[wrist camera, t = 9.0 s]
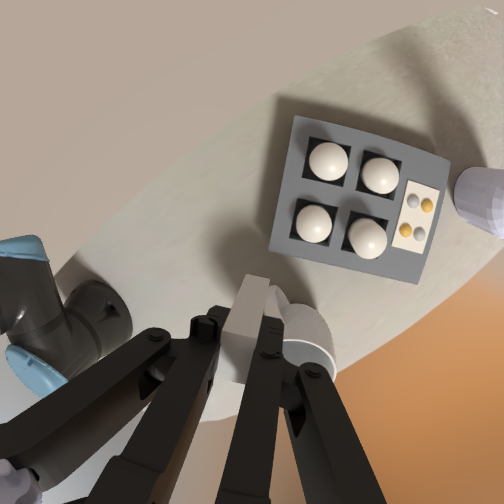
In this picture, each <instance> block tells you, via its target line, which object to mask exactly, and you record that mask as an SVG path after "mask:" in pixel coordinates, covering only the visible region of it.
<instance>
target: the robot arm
mask: <svg viewBox="0 0 504 504" xmlns="http://www.w3.org/2000/svg"><path fill="white" fill-rule="evenodd" d="M49 262H50V261H49V259H48V258H47V256H46V253H45V250H44V247H43V243H42V241H41V239H40V238H39V237H37V236H35V235H26V236H20V237H15V238H10V239H6V240H2V241H0V335H2V334H4V333H5V332H6V334H7V336H8V338H9V340H10V343H11V344H10V345H8V346H7V349H6V351H5V355H6V359H7V362H8V364H9V365H10V367H11V369H12V370H13V372H14V373H15V374H16V376H17V377H18V378H19V379H20V380H21V382H22V383H23V384H24V385H26V387H28V388H29V389H30V390H31V391H32V392H33V393H35V394H36V395H38V396H39V397H41V398H43V399H42V400H40V401H38V402H37V403H35V404H34V405H33V406H31V407H30V408H28V409H27V410H25V411H24V412H22V413H21V414H19V415H18V416H16V417H15V418H13V419H12V420H10V421H9V422H7V423H3V424H0V504H41V503H42V501H41V499H42V492H45V491H47V490H49V489H51V488H53V487H55V486H56V485H58V484H59V483H60V482H62V481H63V480H64V479H66V478H67V477H68V476H69V475H70V474H72V473H73V472H74V471H75V470H76V469H77V468H78V467H80V466H81V465H82V464H83V463H84V462H85V461H86V460H88V459H89V458H90V457H91V456H92V455H93V454H94V453H95V452H97V451H98V450H99V449H100V448H101V447H102V446H103V445H104V444H105V443H107V441H109V440H110V439H111V438H112V437H113V436H114V435H115V434H116V433H117V432H118V431H120V430H121V429H122V428H123V427H124V426H125V425H126V424H127V423H128V422H129V421H131V420H132V419H133V418H134V417H135V416H136V415H137V414H138V413H139V412H140V411H141V410H142V409H143V408H144V407H145V406H146V405H148V404H149V403H150V402H151V403H150V404H149V406H148V408H147V410H146V411H145V413H144V415H143V417H142V419H141V420H140V422H139V424H138V425H137V427H136V429H135V431H134V432H133V434H132V436H131V438H130V439H129V441H128V443H127V445H126V446H125V448H124V450H123V452H122V453H121V454H120V455H119V456H113V457H112V458H111V459H110V460H109V462H108V463H107V465H106V466H105V468H104V470H103V472H102V473H101V475H100V477H99V478H98V480H97V482H96V483H95V485H94V487H93V489H92V490H91V492H90V494H89V496H88V497H84V498H80V499H77V500H74V501H70V502H67V503H64V504H169V500H170V498H171V495H172V492H173V490H174V487H175V484H176V482H177V479H178V476H179V474H180V471H181V469H182V466H183V463H184V460H185V458H186V455H187V453H188V450H189V447H190V445H191V442H192V439H193V437H194V434H195V431H196V429H197V426H198V423H199V421H200V418H201V415H202V413H203V410H204V407H205V404H206V402H207V399H208V396H209V394H210V391H211V388H212V386H213V380H214V375H215V377H216V378H220V379H224V380H228V381H232V382H237V383H241V384H246V385H245V389H244V393H243V397H242V401H241V405H240V409H239V413H238V417H237V421H236V425H235V429H234V433H233V437H232V441H231V445H230V449H229V452H228V456H227V460H226V464H225V468H224V472H223V475H222V479H221V483H220V486H219V490H218V493H217V497H216V501H215V504H271V499H270V498H269V489H270V482H271V474H272V467H273V459H274V450H275V441H276V433H277V423H278V414H279V407H282V408H284V415H285V419H286V424H287V427H288V432H289V435H290V440H291V444H292V448H293V452H294V456H295V460H296V464H297V468H298V472H299V476H300V479H301V484H302V488H303V492H304V496H305V499H306V503H307V504H387V503H386V500H385V498H384V496H383V493H382V491H381V489H380V486H379V484H378V482H377V479H376V477H375V475H374V472H373V470H372V468H371V466H370V463H369V461H368V459H367V456H366V454H365V452H364V450H363V447H362V445H361V443H360V441H359V439H358V436H357V434H356V432H355V429H354V427H353V425H352V423H351V420H350V418H349V416H348V414H347V412H346V409H345V407H344V405H343V403H342V401H341V398H340V396H339V394H338V392H337V390H336V387H335V385H334V383H333V381H332V379H331V377H330V374H329V372H328V371H327V369H326V368H325V367H323V366H322V365H320V364H318V363H314V362H305V363H303V364H301V365H300V367H299V366H296V365H294V364H292V363H290V362H288V361H287V360H286V359H285V358H284V355H283V352H282V349H283V337H284V336H283V335H284V323H283V321H282V320H281V319H280V318H275V317H270V316H265V315H263V311H264V306H265V301H266V297H267V292H268V287H269V282H270V279H268V278H263V277H258V276H254V275H249V274H246V275H245V278H244V280H243V282H242V285H241V287H240V289H239V292H238V294H237V296H236V299H235V301H234V303H233V306H232V308H231V309H230V308H226V307H222V306H217V305H215V306H213V307H212V308H210V309H209V311H208V312H207V315H199V316H196V317H193V318H192V319H191V324H190V335H189V337H188V338H186V339H173V338H171V335H170V333H169V332H168V331H166V330H165V329H162V328H155V327H153V328H148V329H146V330H144V331H142V332H141V333H139V334H138V335H136V336H135V337H133V338H132V339H130V338H131V336H132V330H133V326H132V320H131V316H130V313H129V311H128V309H127V307H126V305H125V304H124V302H123V301H122V299H121V298H120V297H119V296H118V294H117V293H116V292H115V291H113V290H112V289H111V288H110V287H108V286H107V285H105V284H103V283H101V282H98V281H86V282H83V283H82V284H80V285H79V286H77V287H76V288H75V289H74V290H73V291H72V293H71V294H70V297H69V298H68V299H67V300H66V302H65V303H64V305H63V304H62V301H61V298H60V296H59V293H58V290H57V287H56V284H55V281H54V277H53V274H52V271H51V268H50V264H49ZM109 353H110V354H109ZM106 355H107V356H106ZM103 356H105V357H104V358H102V359H101V360H99V359H100V358H101V357H103ZM98 360H99V361H98ZM97 361H98V362H97ZM215 373H216V374H215Z"/></svg>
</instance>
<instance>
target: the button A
mask: <svg viewBox="0 0 504 504" xmlns="http://www.w3.org/2000/svg"><path fill="white" fill-rule="evenodd" d="M296 228H297V232H298V234H299V235H300V237H301V238H302V239H304V240H305V241H308V242H311V243H317V242H320V241H323V240H324V239H326V238H327V237H328V235H329V234H330V232H331V228H332V222H331V219H330V217H329V215H328V213H327V211H326V209H325V208H324V207H323V206H322V205H320V204H318V203H308V204H305V205H304V206H302V207H301V208H300V210H299V212H298V214H297V221H296Z"/></svg>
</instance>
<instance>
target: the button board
mask: <svg viewBox="0 0 504 504" xmlns="http://www.w3.org/2000/svg"><path fill="white" fill-rule="evenodd" d="M327 142H328V143H334V144H337V145H339V146H340V147H341V148H342V149H343V150H344V151H345V153H346V155H347V158H348V167H347V170H346V172H345V173H344V174H343V175H342V176H341V177H340V178H338V179H336V180H324V179H321V178H319V177H318V176H317V175H315V174H314V173H313V171H312V170H311V168H310V165H309V157H310V154H311V152H312V151H313V150H314V149H315V148H316V147H317V146H318V145H320V144H322V143H327ZM372 158H385V159H388V160H390V161H391V162H393V163H394V164H395V166H396V167H397V169H398V173H399V181H398V184H397V186H396V187H395V189H394V190H393V191H391V192H389V193H386V194H380V193H377V192H374V191H372V190H370V189H367V188H366V187H365V186H364V185H363V184H362V183H361V181H360V179H359V171H360V166H361V165H362V163H363V162H364V161H366V160H368V159H372ZM450 165H451V161H449V160H447V159H444V158H442V157H439V156H437V155H434V154H432V153H429V152H426V151H423V150H421V149H418V148H415V147H412V146H409V145H406V144H403V143H400V142H397V141H394V140H391V139H388V138H385V137H382V136H378V135H375V134H371V133H368V132H364V131H361V130H357V129H353V128H350V127H346V126H342V125H338V124H334V123H329V122H325V121H321V120H316V119H311V118H307V117H302V116H297V115H294V121H293V126H292V131H291V137H290V142H289V147H288V152H287V158H286V163H285V168H284V173H283V178H282V184H281V189H280V194H279V199H278V204H277V209H276V214H275V219H274V224H273V229H272V234H271V239H270V244H269V248H268V251H270V252H275V253H279V254H284V255H288V256H293V257H297V258H302V259H306V260H311V261H315V262H320V263H324V264H328V265H333V266H337V267H342V268H346V269H351V270H355V271H359V272H364V273H368V274H373V275H377V276H381V277H386V278H390V279H395V280H399V281H403V282H408V283H412V284H416V285H418V282H419V279H420V276H421V274H422V271H423V268H424V265H425V262H426V259H427V256H428V253H429V250H430V246H431V243H432V240H433V236H434V233H435V229H436V226H437V222H438V219H439V215H440V211H441V207H442V203H443V199H444V194H445V190H446V185H447V180H448V176H449V170H450ZM308 203H318V204H320V205H322V206H323V207H324V208H325V209H326V211H327V213H328V215H329V217H330V219H331V222H332V228H331V232H330V234H329V235H328V237H327V238H326V239H324V240H323V241H320V242H317V243H311V242H308V241H305V240H304V239H302V238H301V237H300V235H299V234H298V232H297V228H296V221H297V214H298V212H299V210H300V208H301V207H302V206H304V205H305V204H308ZM358 217H368V218H371V219H372V220H373V221H375V222H376V223H377V224H378V225H379V226H380V227H381V228H382V229H383V230H384V231H385V233H386V236H387V245H386V248H385V250H384V251H383V253H382V254H381V255H379V256H378V257H376V258H373V259H365V258H362V257H360V256H359V255H358V254H357V253H356V252H355V250H354V248H353V247H352V245H351V243H350V241H349V239H348V236H347V231H348V227H349V225H350V223H351V222H352V221H353V220H354V219H356V218H358Z"/></svg>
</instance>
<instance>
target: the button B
mask: <svg viewBox="0 0 504 504" xmlns="http://www.w3.org/2000/svg"><path fill="white" fill-rule="evenodd" d="M309 165H310V168H311V170H312V171H313V173H314V174H315V175H317V176H318V177H319V178H321V179H324V180H336V179H338V178H340V177H341V176H342V175H343V174H344V173H345V172H346V170H347V167H348V158H347V155H346V153H345V151H344V150H343V149H342V148H341V147H340V146H339V145H337V144H334V143H328V142H327V143H322V144H320V145H318V146H317V147H316V148H315V149H314V150H313V151H312V152H311V154H310V157H309Z"/></svg>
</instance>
